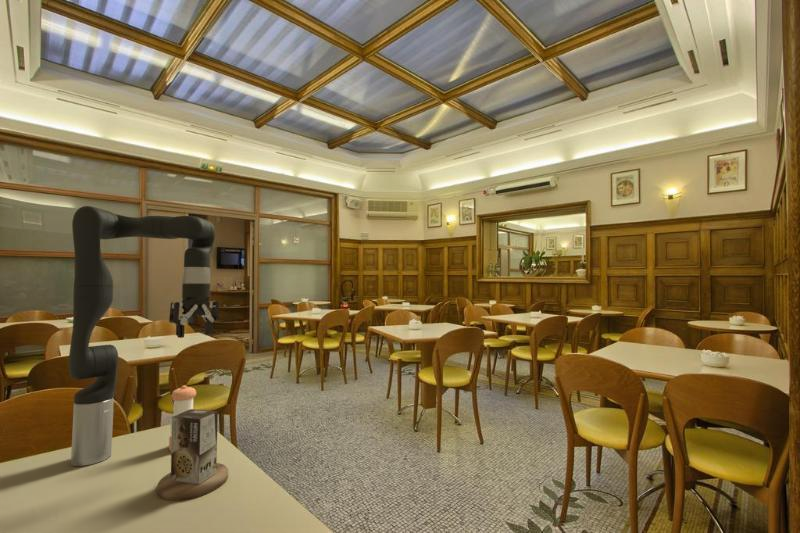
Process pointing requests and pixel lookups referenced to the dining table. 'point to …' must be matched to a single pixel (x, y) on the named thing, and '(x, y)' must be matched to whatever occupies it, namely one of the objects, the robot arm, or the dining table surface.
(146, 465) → the dining table surface
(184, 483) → the disc
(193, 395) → the pepper shaker
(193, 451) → the coffee box
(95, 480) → the dining table surface
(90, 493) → the dining table surface
